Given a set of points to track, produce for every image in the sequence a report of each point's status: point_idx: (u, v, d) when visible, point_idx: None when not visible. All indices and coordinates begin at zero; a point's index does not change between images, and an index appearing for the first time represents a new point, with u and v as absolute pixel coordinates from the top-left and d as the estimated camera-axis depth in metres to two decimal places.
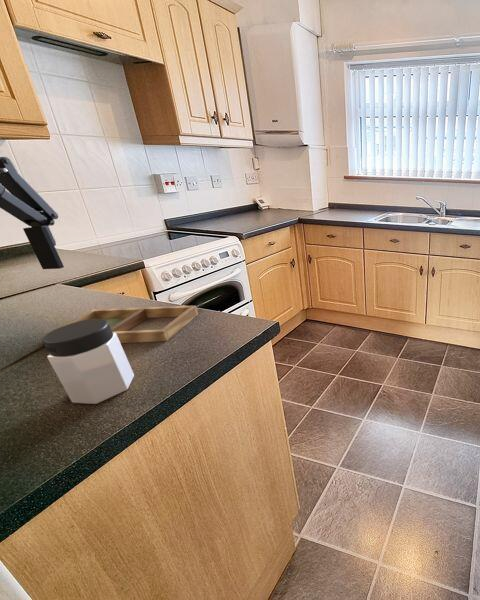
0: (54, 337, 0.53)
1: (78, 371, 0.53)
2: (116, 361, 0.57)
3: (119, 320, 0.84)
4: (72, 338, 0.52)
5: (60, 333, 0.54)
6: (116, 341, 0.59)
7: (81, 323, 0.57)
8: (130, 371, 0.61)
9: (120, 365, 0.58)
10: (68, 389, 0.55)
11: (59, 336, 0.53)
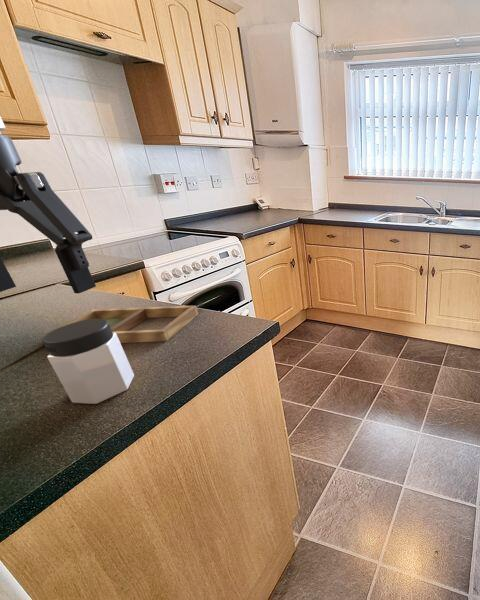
0: (54, 337, 0.53)
1: (78, 371, 0.53)
2: (116, 361, 0.57)
3: (119, 320, 0.84)
4: (72, 338, 0.52)
5: (60, 333, 0.54)
6: (116, 341, 0.59)
7: (81, 323, 0.57)
8: (130, 371, 0.61)
9: (120, 365, 0.58)
10: (68, 389, 0.55)
11: (59, 336, 0.53)
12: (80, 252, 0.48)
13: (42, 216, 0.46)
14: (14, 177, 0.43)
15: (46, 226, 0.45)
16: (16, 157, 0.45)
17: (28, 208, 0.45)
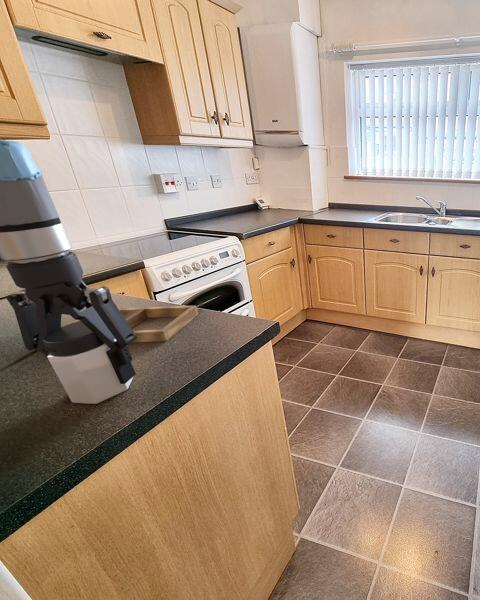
0: (54, 337, 0.53)
1: (78, 371, 0.53)
2: None
3: None
4: (72, 338, 0.52)
5: (60, 333, 0.54)
6: None
7: (81, 323, 0.57)
8: None
9: None
10: (68, 389, 0.55)
11: (59, 336, 0.53)
12: (126, 350, 0.57)
13: (99, 322, 0.54)
14: (84, 291, 0.52)
15: (103, 332, 0.54)
16: (81, 270, 0.52)
17: (90, 316, 0.53)
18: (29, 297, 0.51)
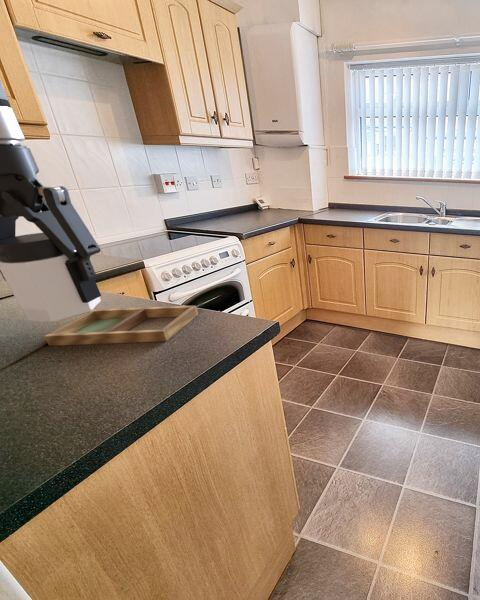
0: (5, 242, 0.47)
1: (32, 281, 0.48)
2: None
3: (119, 320, 0.84)
4: (25, 242, 0.47)
5: (13, 239, 0.48)
6: None
7: (39, 234, 0.51)
8: None
9: None
10: (22, 304, 0.50)
11: (11, 241, 0.47)
12: (88, 264, 0.51)
13: (57, 228, 0.49)
14: (38, 188, 0.46)
15: (61, 239, 0.48)
16: (36, 166, 0.47)
17: (45, 219, 0.48)
18: None
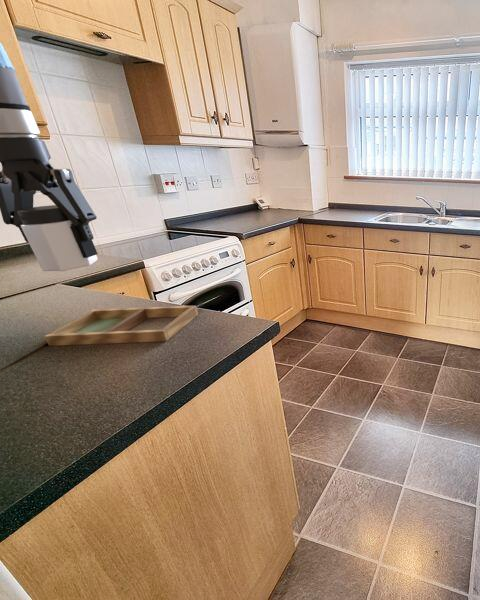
0: (26, 209, 0.64)
1: (46, 238, 0.65)
2: None
3: (119, 320, 0.84)
4: (41, 209, 0.64)
5: (32, 208, 0.65)
6: None
7: (50, 205, 0.68)
8: None
9: None
10: (39, 257, 0.67)
11: (30, 209, 0.64)
12: (87, 228, 0.68)
13: (64, 200, 0.66)
14: (50, 169, 0.63)
15: (67, 208, 0.65)
16: (48, 154, 0.64)
17: (55, 193, 0.65)
18: (5, 174, 0.63)
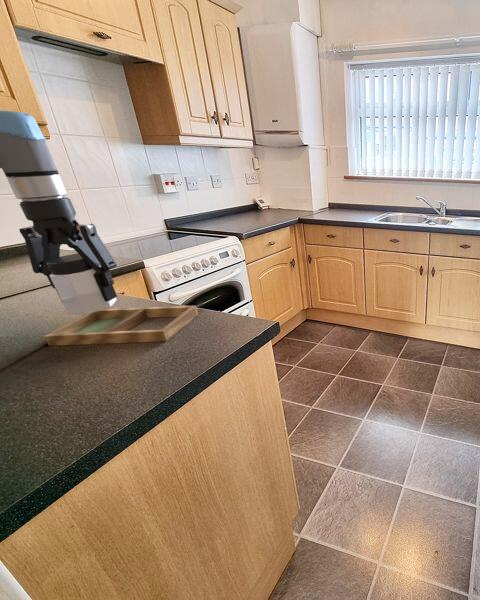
0: (54, 261, 0.71)
1: (72, 286, 0.72)
2: None
3: (119, 320, 0.84)
4: (68, 261, 0.70)
5: (59, 259, 0.72)
6: None
7: (75, 254, 0.75)
8: None
9: None
10: (65, 302, 0.73)
11: (58, 260, 0.71)
12: (109, 275, 0.75)
13: (88, 251, 0.73)
14: (76, 225, 0.70)
15: (91, 258, 0.72)
16: (74, 211, 0.71)
17: (81, 246, 0.72)
18: (36, 230, 0.70)
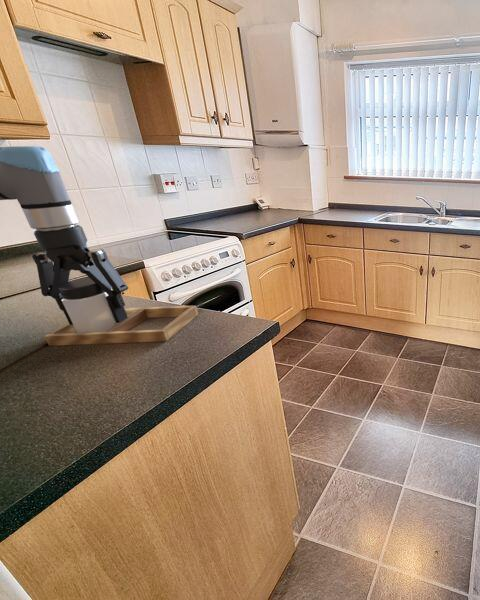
0: (66, 286, 0.73)
1: (84, 311, 0.74)
2: None
3: None
4: (80, 286, 0.73)
5: (71, 284, 0.75)
6: None
7: (86, 278, 0.78)
8: None
9: None
10: (76, 325, 0.76)
11: (70, 285, 0.74)
12: (120, 297, 0.77)
13: (100, 275, 0.75)
14: (87, 252, 0.72)
15: (103, 282, 0.75)
16: (86, 238, 0.73)
17: (92, 271, 0.74)
18: (49, 257, 0.72)
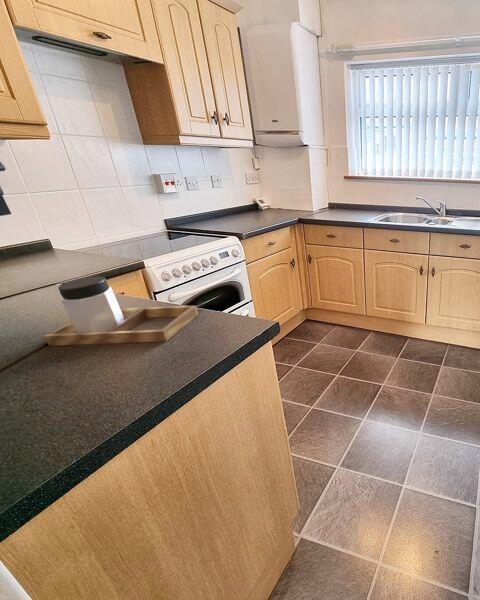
0: (66, 286, 0.73)
1: (83, 311, 0.74)
2: (111, 306, 0.78)
3: None
4: (79, 286, 0.73)
5: (70, 284, 0.75)
6: (111, 293, 0.79)
7: (85, 278, 0.78)
8: (122, 317, 0.82)
9: (114, 310, 0.79)
10: (76, 325, 0.76)
11: (70, 285, 0.74)
12: None
13: None
14: None
15: None
16: None
17: None
18: None
